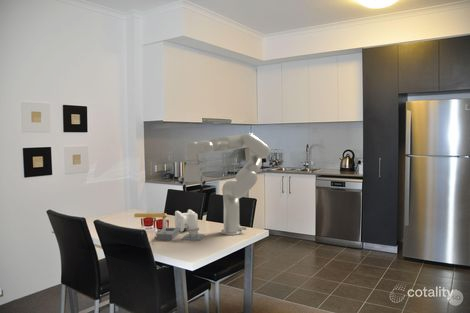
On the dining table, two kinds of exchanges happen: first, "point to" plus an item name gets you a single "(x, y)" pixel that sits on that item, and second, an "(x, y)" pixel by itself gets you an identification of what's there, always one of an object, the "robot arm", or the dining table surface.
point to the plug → (193, 225)
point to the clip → (150, 215)
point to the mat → (192, 237)
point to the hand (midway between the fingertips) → (193, 192)
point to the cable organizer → (182, 220)
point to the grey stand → (167, 232)
